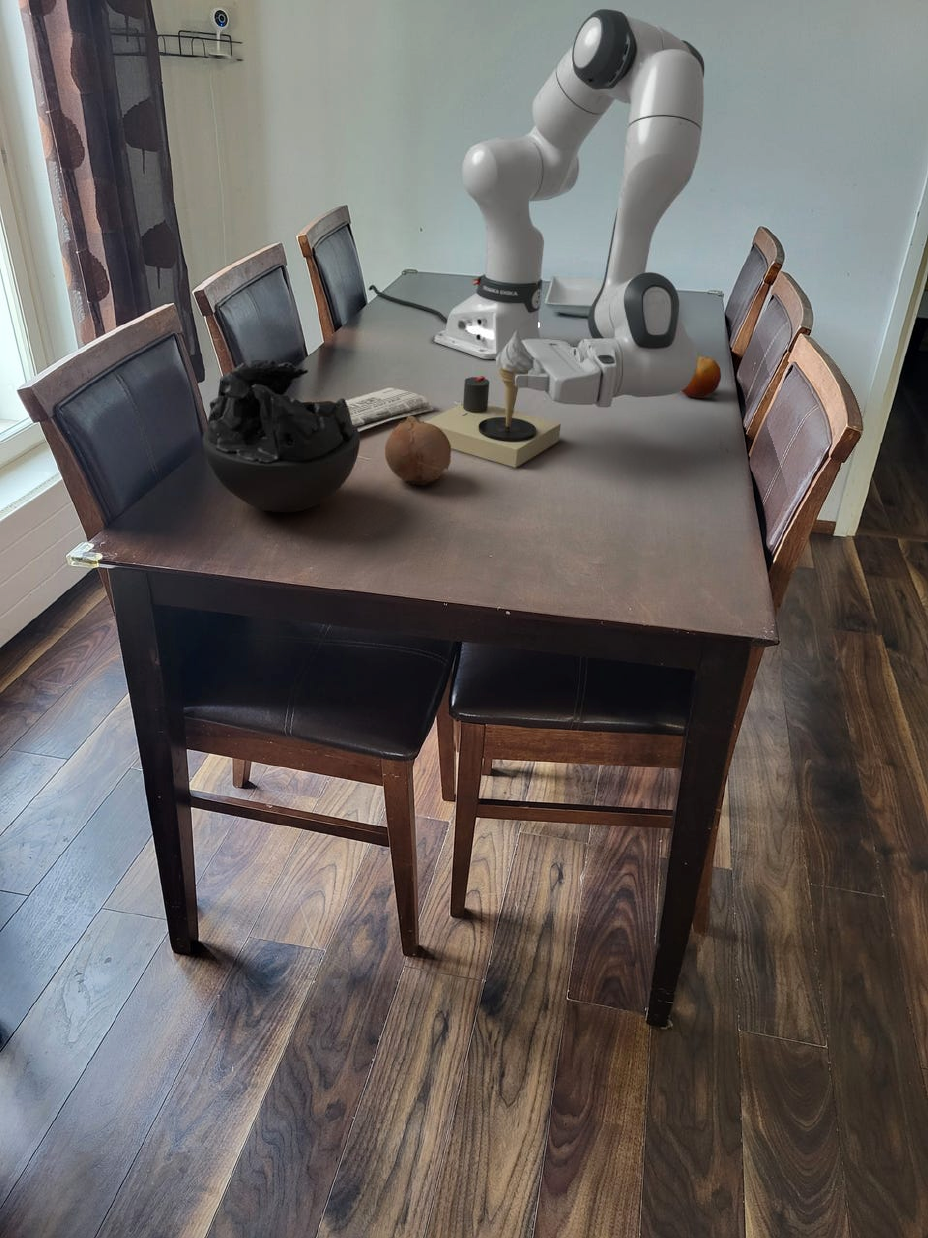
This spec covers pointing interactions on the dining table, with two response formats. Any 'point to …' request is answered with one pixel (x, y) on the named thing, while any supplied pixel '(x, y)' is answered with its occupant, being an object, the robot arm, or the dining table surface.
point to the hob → (469, 439)
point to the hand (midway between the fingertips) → (506, 369)
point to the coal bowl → (277, 439)
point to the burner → (507, 429)
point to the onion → (418, 451)
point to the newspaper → (385, 407)
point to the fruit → (704, 379)
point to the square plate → (572, 294)
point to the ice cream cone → (512, 370)
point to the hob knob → (476, 394)
